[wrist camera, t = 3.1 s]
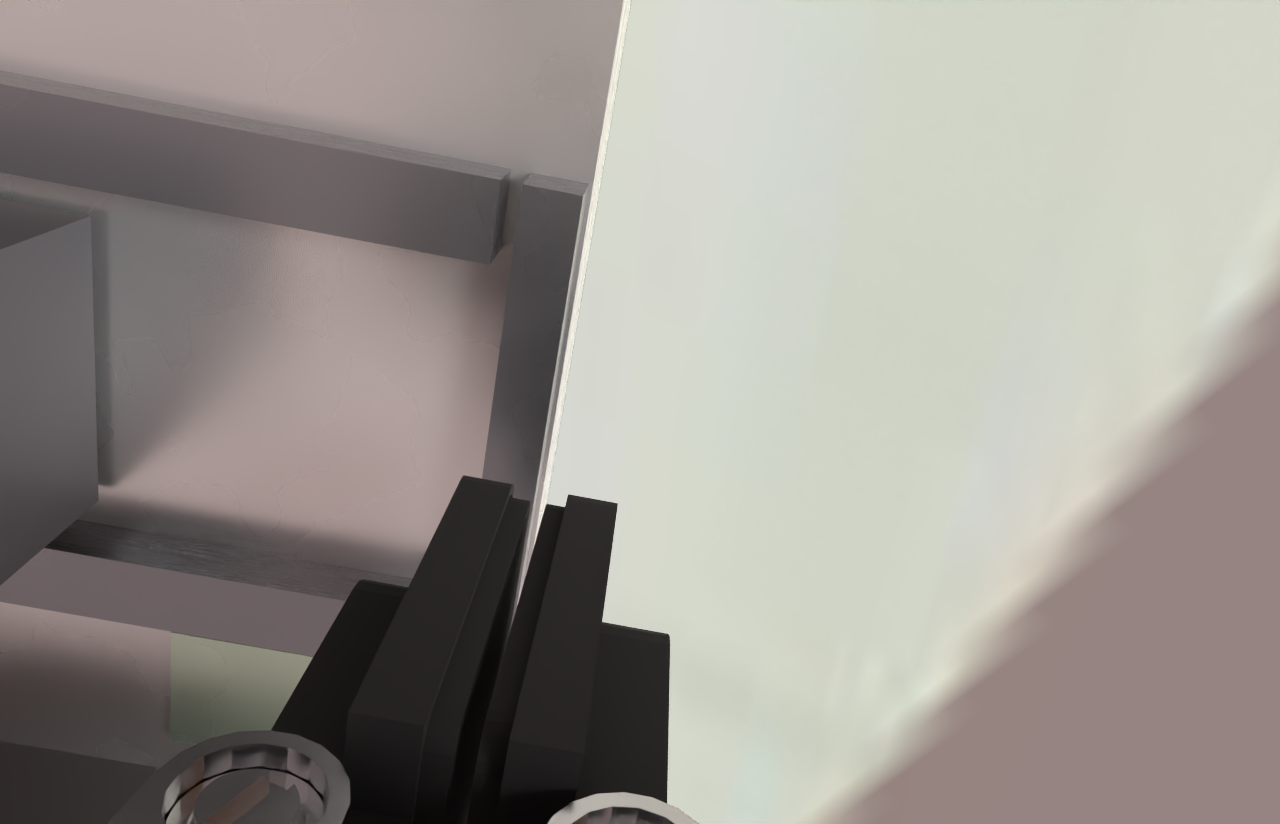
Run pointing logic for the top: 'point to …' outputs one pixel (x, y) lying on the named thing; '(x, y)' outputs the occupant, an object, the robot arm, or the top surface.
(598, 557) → the robot arm
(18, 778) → the long gray rail
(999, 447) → the top surface
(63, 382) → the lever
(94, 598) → the panel
